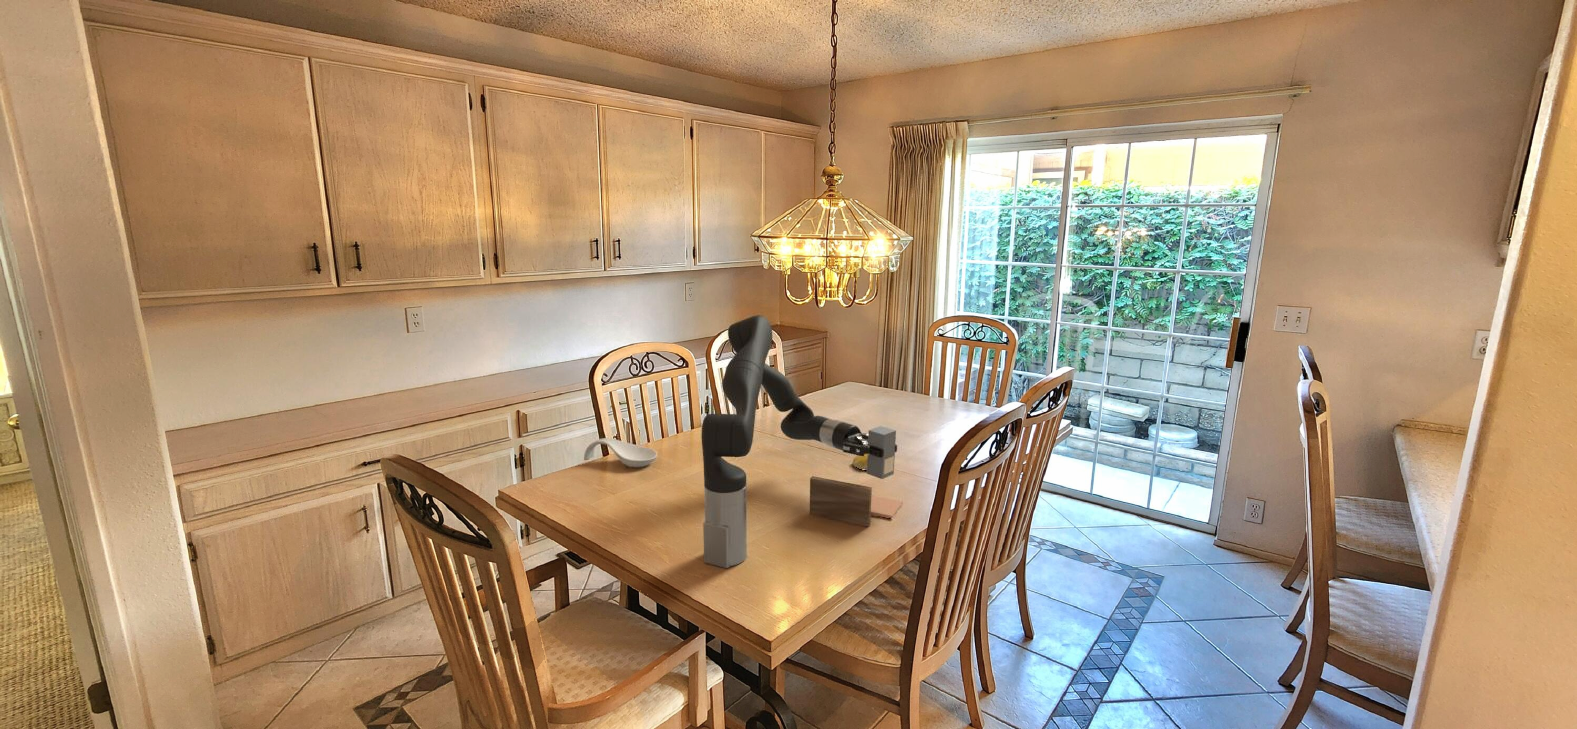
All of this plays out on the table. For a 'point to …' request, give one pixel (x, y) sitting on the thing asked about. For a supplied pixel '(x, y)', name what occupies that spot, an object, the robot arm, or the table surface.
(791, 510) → the table surface
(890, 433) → the slate block
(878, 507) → the terracotta tile
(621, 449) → the spoon rest
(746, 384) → the robot arm
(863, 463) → the bread roll
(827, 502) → the walnut screen
